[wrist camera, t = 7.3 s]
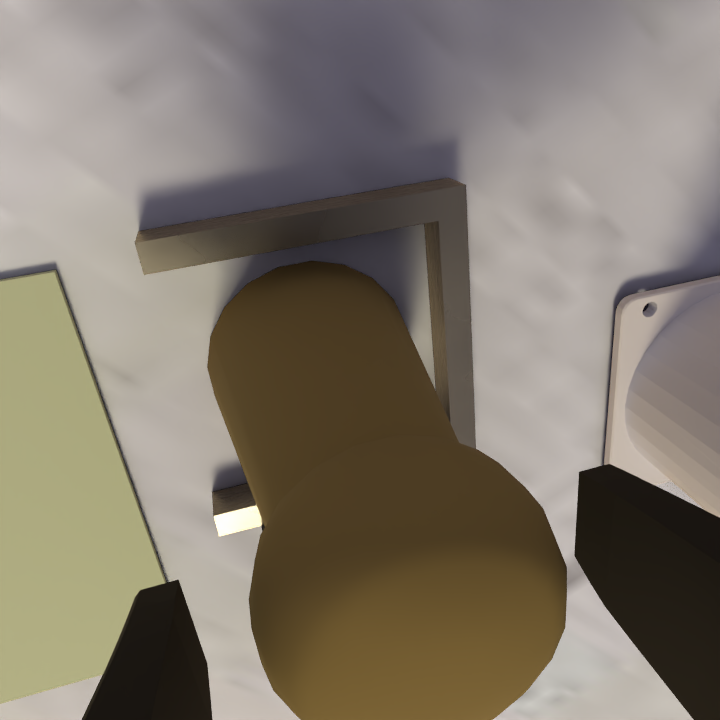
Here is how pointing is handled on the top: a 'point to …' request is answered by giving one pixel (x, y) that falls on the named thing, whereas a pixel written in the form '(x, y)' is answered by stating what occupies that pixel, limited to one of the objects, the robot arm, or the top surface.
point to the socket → (331, 222)
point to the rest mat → (60, 502)
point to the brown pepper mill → (376, 514)
